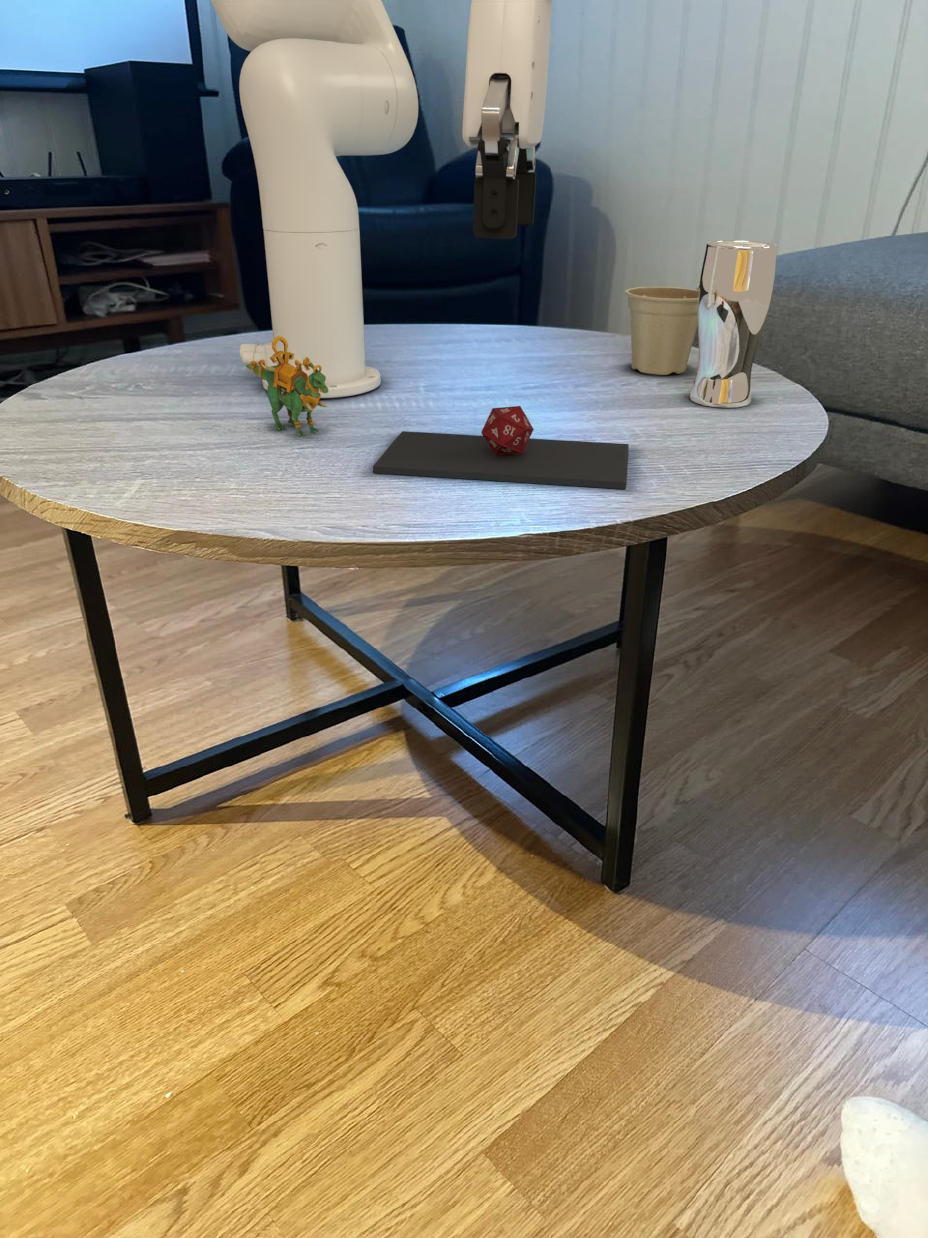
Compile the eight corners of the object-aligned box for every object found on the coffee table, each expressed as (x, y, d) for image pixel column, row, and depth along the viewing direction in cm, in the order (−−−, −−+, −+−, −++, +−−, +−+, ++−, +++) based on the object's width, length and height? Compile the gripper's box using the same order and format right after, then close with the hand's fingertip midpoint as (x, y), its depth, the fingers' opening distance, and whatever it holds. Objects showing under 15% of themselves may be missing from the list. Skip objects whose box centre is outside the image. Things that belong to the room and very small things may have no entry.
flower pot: (689, 361, 110) (698, 285, 106) (710, 379, 101) (720, 298, 97) (612, 361, 109) (618, 285, 105) (626, 379, 101) (634, 298, 97)
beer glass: (757, 411, 89) (783, 248, 82) (685, 407, 91) (705, 245, 84) (752, 394, 95) (776, 240, 88) (685, 390, 97) (703, 238, 90)
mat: (372, 473, 72) (372, 465, 72) (402, 437, 81) (402, 430, 81) (625, 489, 69) (626, 481, 69) (628, 450, 78) (628, 443, 78)
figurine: (316, 444, 79) (309, 348, 75) (237, 418, 86) (227, 329, 82) (343, 437, 81) (338, 343, 77) (264, 412, 88) (255, 325, 84)
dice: (475, 449, 76) (475, 401, 74) (526, 446, 77) (528, 399, 75) (486, 463, 73) (487, 413, 71) (539, 459, 74) (541, 410, 72)
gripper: (485, -18, 71) (478, 218, 80) (436, -55, 56) (434, 241, 65) (580, -18, 70) (563, 222, 78) (556, -55, 55) (538, 246, 63)
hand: (504, 230), depth 72 cm, fingers open, 9 cm apart
